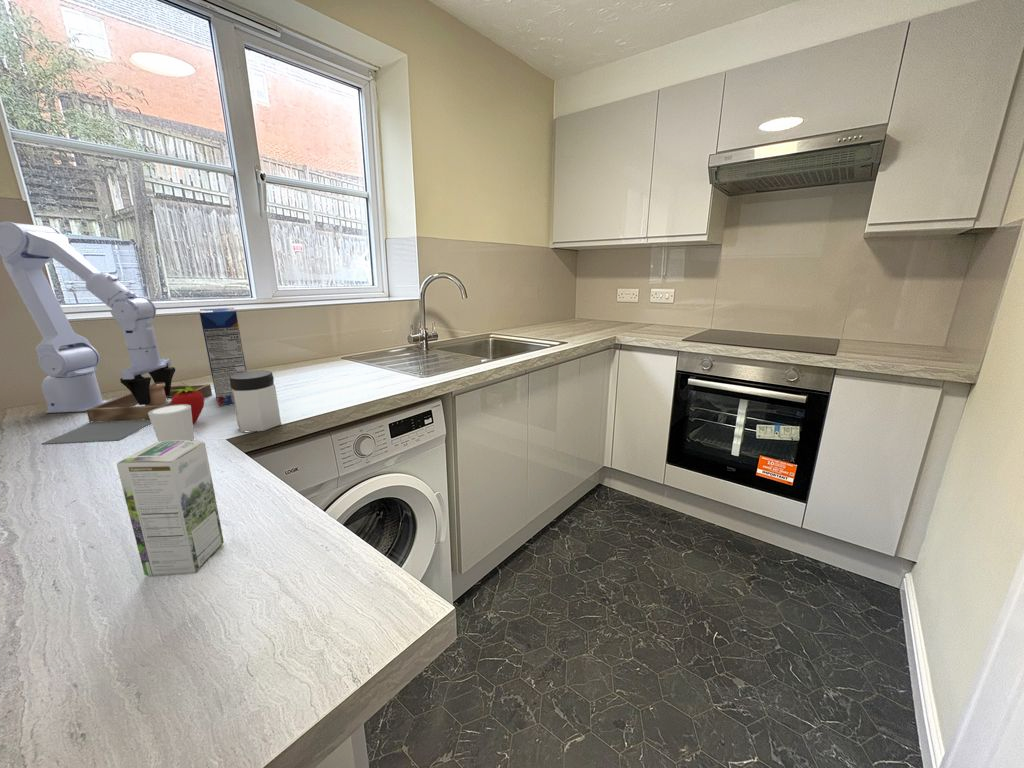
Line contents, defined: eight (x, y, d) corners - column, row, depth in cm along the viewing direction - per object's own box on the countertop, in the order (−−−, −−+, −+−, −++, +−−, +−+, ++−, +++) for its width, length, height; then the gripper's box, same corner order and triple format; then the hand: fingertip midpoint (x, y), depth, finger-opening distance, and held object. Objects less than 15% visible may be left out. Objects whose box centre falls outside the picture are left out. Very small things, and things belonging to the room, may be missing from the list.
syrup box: (178, 545, 53) (152, 440, 49) (227, 543, 53) (204, 438, 50) (144, 577, 48) (111, 461, 44) (198, 574, 48) (171, 459, 44)
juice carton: (217, 395, 116) (200, 309, 110) (248, 391, 120) (233, 307, 114) (218, 406, 107) (199, 312, 100) (251, 401, 111) (236, 311, 105)
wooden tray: (89, 422, 96) (86, 409, 95) (149, 396, 115) (146, 386, 114) (165, 418, 98) (163, 406, 97) (212, 394, 117) (210, 384, 116)
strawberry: (173, 430, 91) (163, 386, 88) (180, 420, 97) (170, 378, 95) (206, 426, 94) (197, 383, 91) (210, 416, 100) (202, 375, 97)
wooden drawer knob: (138, 410, 104) (132, 387, 102) (152, 404, 109) (147, 382, 107) (161, 409, 104) (156, 386, 103) (174, 403, 109) (169, 381, 108)
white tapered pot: (205, 437, 87) (199, 405, 86) (170, 450, 81) (162, 416, 79) (183, 433, 90) (176, 402, 88) (147, 445, 83) (139, 412, 81)
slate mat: (41, 444, 84) (41, 443, 84) (90, 423, 95) (90, 422, 95) (119, 440, 86) (119, 439, 86) (158, 420, 97) (158, 419, 97)
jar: (284, 427, 93) (276, 375, 90) (241, 436, 88) (231, 381, 85) (276, 416, 100) (268, 368, 97) (236, 424, 95) (226, 373, 92)
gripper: (139, 352, 96) (153, 408, 100) (178, 342, 110) (189, 391, 114) (105, 353, 95) (120, 409, 99) (149, 342, 109) (160, 392, 113)
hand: (155, 399), depth 106 cm, fingers open, 7 cm apart
